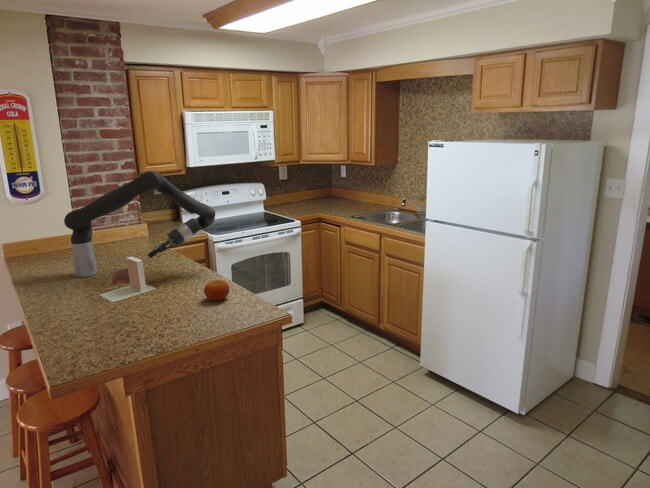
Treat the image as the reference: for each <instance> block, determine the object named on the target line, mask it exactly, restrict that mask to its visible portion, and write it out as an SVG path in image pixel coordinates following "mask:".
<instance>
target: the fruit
mask: <svg viewBox="0 0 650 488" xmlns="http://www.w3.org/2000/svg"><path fill="white" fill-rule="evenodd" d="M203 292H204V296H205V297H206V299H208V300H210V301H214V302H215V301H217V302H218V301H222V300H224V299H225V298H227V296H228V295H229V293H230V285H229V284H228V282H227V281H225V280H222V279H213V280H210V281H208V282H207V283H206V284H205V285H204V289H203Z"/></svg>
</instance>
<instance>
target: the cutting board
mask: <svg viewBox="0 0 650 488" xmlns="http://www.w3.org/2000/svg"><path fill="white" fill-rule="evenodd" d="M156 289H157V288H156V287H154V286H151V285H148V284H146V290H145V291H142V292H141V291H139V290H137V289H134V288H132V287H131V286H130V285H127V286H124V287H119V288H117V289H114V290H111V291H110V290H109V291H106V292H103V293H100V294H98V295H99V296H100V297H102V298H104V299H106V300H108V301H110V302H112V303H115V302H119V301H121V300H124V299H127V298H131V297H134V296H138V295H141V294H144V293H147V292H150V291H154V290H156Z"/></svg>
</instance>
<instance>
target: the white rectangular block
mask: <svg viewBox="0 0 650 488" xmlns="http://www.w3.org/2000/svg"><path fill="white" fill-rule="evenodd" d="M126 264H127V269H128V272H129V279H130V283H129V286H131V287H132V288H134V289H137V290H139V291H141V292H142V291H145V290H146V276H145V271H144V270H145V269H144V264H143V260H142V259H140V258H137V257H134V256H129V257H126Z"/></svg>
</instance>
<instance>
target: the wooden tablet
mask: <svg viewBox="0 0 650 488" xmlns="http://www.w3.org/2000/svg"><path fill="white" fill-rule="evenodd" d="M119 284H130V279H129V272H128V268H126V269H125V268H124V269H118V270H116V271H115V272H114V273H113V277H112V282H111V285H112V286H117V285H119Z"/></svg>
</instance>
